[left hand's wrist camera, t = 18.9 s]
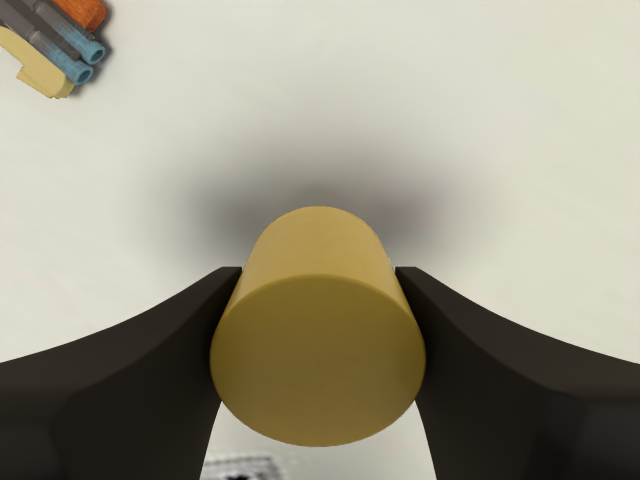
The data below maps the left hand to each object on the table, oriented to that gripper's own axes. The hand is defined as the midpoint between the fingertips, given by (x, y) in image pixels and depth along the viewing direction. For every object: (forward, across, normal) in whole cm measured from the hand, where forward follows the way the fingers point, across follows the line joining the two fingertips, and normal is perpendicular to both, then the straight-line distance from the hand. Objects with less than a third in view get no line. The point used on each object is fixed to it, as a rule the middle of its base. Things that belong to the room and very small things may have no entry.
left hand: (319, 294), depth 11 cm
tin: (+1, 0, 0) cm, 1 cm away
